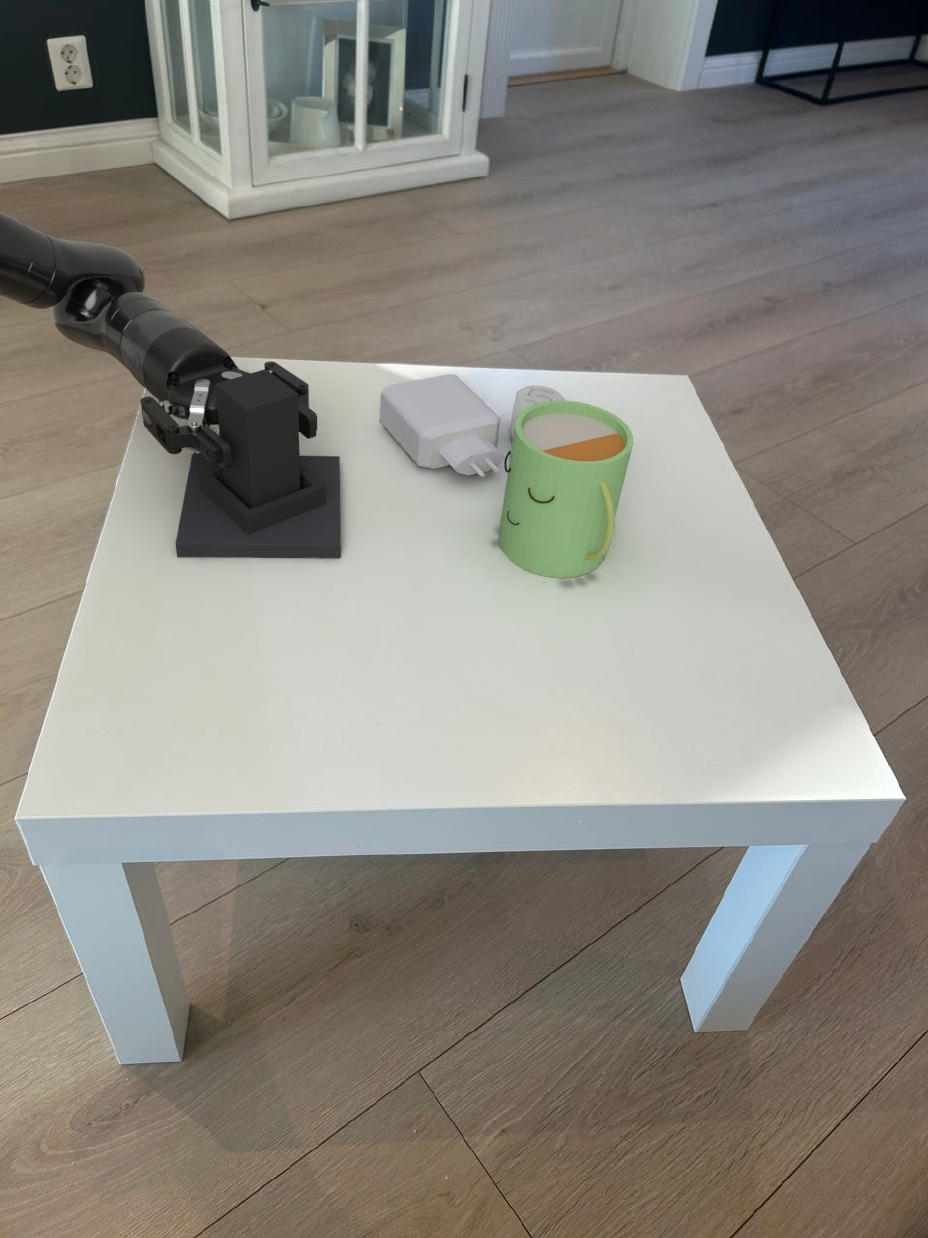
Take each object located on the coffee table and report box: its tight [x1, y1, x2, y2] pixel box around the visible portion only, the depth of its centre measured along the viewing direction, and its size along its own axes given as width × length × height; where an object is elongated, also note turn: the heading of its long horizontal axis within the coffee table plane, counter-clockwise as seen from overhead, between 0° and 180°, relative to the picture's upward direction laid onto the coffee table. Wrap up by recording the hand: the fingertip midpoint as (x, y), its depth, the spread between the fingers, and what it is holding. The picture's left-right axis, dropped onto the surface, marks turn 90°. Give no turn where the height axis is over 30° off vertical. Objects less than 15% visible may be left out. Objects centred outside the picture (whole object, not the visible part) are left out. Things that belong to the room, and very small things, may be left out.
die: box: [508, 385, 566, 442], centre depth 101 cm, size 5×5×5 cm
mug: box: [498, 400, 634, 579], centre depth 85 cm, size 13×10×12 cm
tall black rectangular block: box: [215, 369, 301, 509], centre depth 85 cm, size 5×5×11 cm
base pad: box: [175, 452, 342, 559], centre depth 88 cm, size 14×14×4 cm
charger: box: [379, 373, 505, 478], centre depth 97 cm, size 5×9×15 cm
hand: (271, 443), depth 83 cm, fingers open, 8 cm apart
